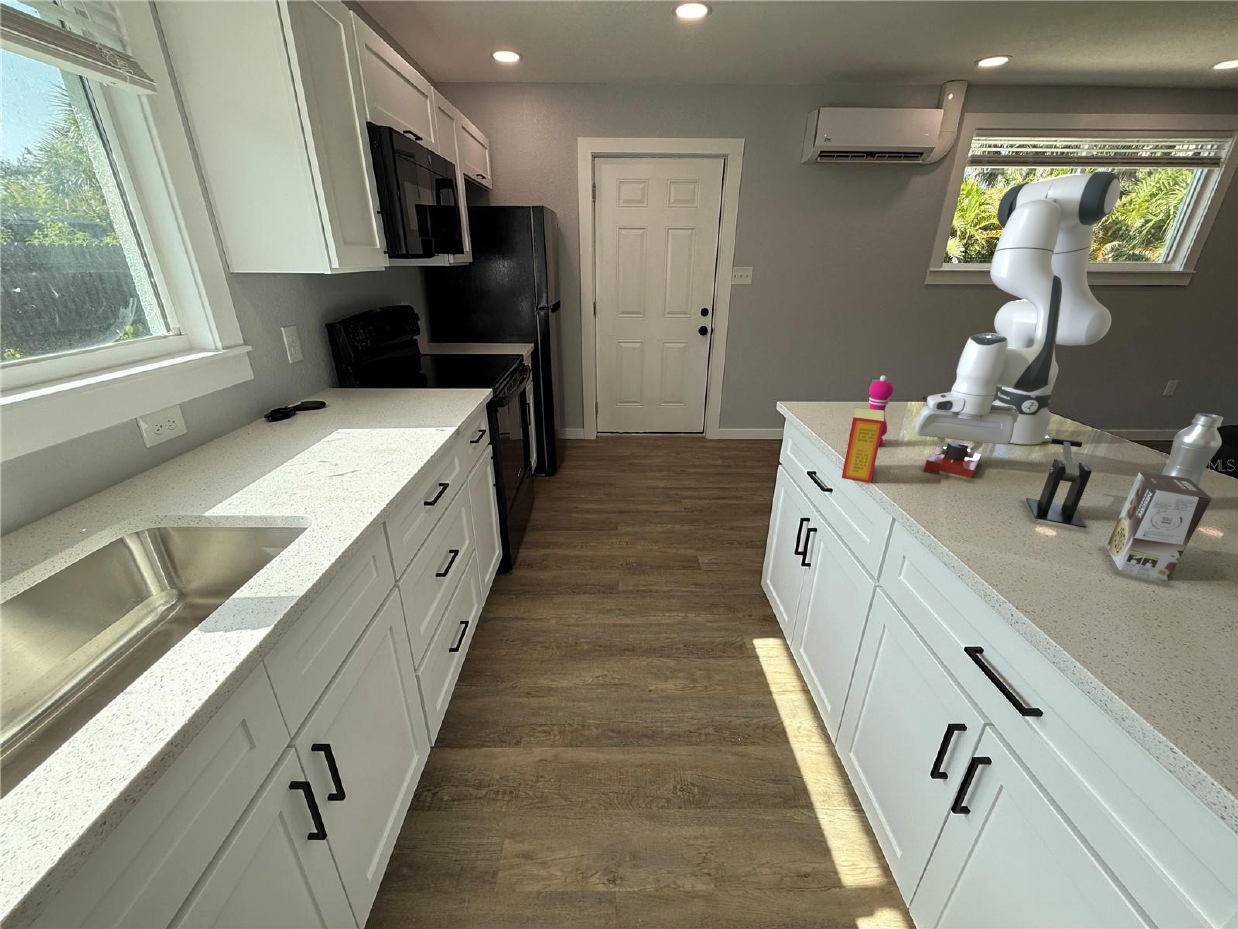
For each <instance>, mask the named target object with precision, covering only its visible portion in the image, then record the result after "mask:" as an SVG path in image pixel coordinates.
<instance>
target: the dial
mask: <svg viewBox="0 0 1238 929" xmlns="http://www.w3.org/2000/svg"><path fill="white" fill-rule="evenodd" d="M969 446H970V444H967V443H964V442H961V441H954V440H951V441H948V442H947V444H946V447H947V452H946V455H944V456H945V457H947V458H949V459H952V460H964V459H965V457H966V453H967V450H968V449H969Z"/></svg>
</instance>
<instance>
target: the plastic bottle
mask: <svg viewBox="0 0 1238 929" xmlns="http://www.w3.org/2000/svg"><path fill="white" fill-rule="evenodd" d="M1223 420H1224V417H1223V416H1220V415H1217V414H1212V413H1203V412H1198V413H1196V414H1195V416H1194V418H1193V419H1192V420H1191V425H1189V426H1187V427H1185V428H1183V429H1181V430H1180V431H1178V432H1177V433H1176V434H1175V435H1174V436H1173V442H1172V445H1171V449H1170V455H1169V457H1168V460H1167V462H1166V464H1165V467H1164V468H1163V470H1162V471H1161V473H1160V474H1161V475H1169V476H1176V477H1183V478H1188V479H1190V480H1191V481H1192V482H1194V483H1195V484H1196V485H1197V486H1198V487H1199V485H1200V482H1201V479H1202V476H1203V474H1204V472H1205V470H1206V468H1207V466H1208V464H1209V463H1210V461H1211V460H1212V459H1213V457H1214V456H1215V455H1216V453H1217V452H1218V450H1219V449H1220V448H1221V446H1222V442H1223V441H1222V437H1221V434H1220V433H1219V431H1218V428H1220V427H1221V425H1222V422H1223Z"/></svg>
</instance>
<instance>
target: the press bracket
mask: <svg viewBox="0 0 1238 929" xmlns="http://www.w3.org/2000/svg"><path fill="white" fill-rule="evenodd" d="M1077 465H1078V466H1079V473H1080V475H1079V477H1078V478H1077V480H1076V481H1075V483H1073V482H1070V486H1069V488H1068V490H1067V492H1066V493H1067V494H1066V496H1065V498H1064V500H1063V503H1059V502H1053V501H1054V499H1055V496H1056V494H1057V492H1058V488H1059V486H1060V483H1061V478H1062V476H1063V473H1064V470H1065V468H1066V467H1065V465H1064V462H1063V461H1062V460H1061V459H1058V458H1054V459H1053V461H1052V465H1051V467H1050V468H1049V473H1048V475H1047V477H1046V481H1045V483H1044V486H1043V488H1042V491H1041V494H1040V497H1039V499H1035V498H1029V497H1026V498H1025V500H1026V502H1027V505H1028V507H1029V509H1030V511H1031V513H1032V516H1033V517H1034V519H1035V520H1041V521H1045V522H1051V523H1057V524H1063V525H1066V526H1067V525H1068V526H1072V527H1078V528H1084V529H1087V526H1086V524H1085V522H1084V521H1083V519H1082V518H1081V516H1080V515H1079V513H1078V511H1077V509H1078V507H1079V504H1080V502H1081V500H1082V498H1083V495H1084V492H1085V489H1086V487H1087V485H1088V482H1089V479H1090V478H1091V474H1092V472H1093V470H1092V469H1091V468H1090V467H1089V465H1088V464H1087V463H1086V462H1079V463H1078V464H1077Z"/></svg>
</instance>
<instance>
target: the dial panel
mask: <svg viewBox="0 0 1238 929" xmlns="http://www.w3.org/2000/svg"><path fill="white" fill-rule="evenodd" d="M938 450H939V445H937V446H936V447H935V448H934V449H933V451H932V452H931V453H930V455H929V456H928V458H927V459H926V462H925V465H924V470H923V471H924V472H927V473H932V474H935V475H936V474H937V475H941V474H940V472H942V473H946V474H952V475H955V476H956V475H957V476H960V477H964V478H970V479H972V478H973V476H974V474H975V472H976V470H977V467H978V466H979V464H980V462H981V458H982V454H979V453H974V456H973V458H967V457H965V459H964V460H952V459H949V458H947V457H945V456H944V455H940V454H939V453H938Z"/></svg>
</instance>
